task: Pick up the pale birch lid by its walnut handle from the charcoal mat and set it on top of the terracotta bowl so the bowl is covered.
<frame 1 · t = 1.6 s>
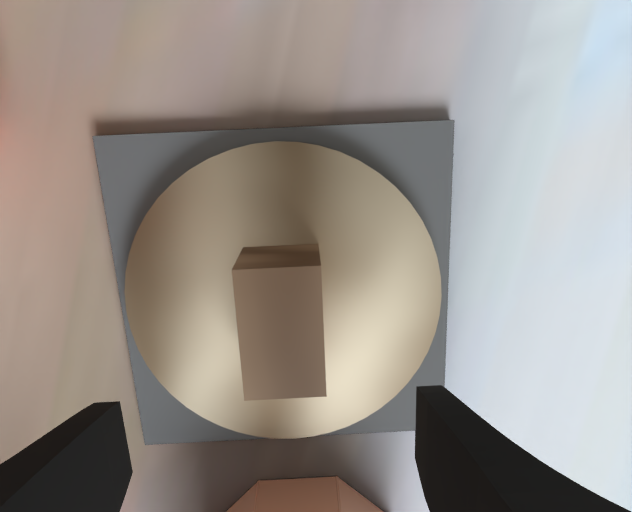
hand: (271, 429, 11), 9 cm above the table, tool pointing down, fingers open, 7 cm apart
mat: (285, 293, 20), on the table
lid: (285, 297, 20), resting on mat
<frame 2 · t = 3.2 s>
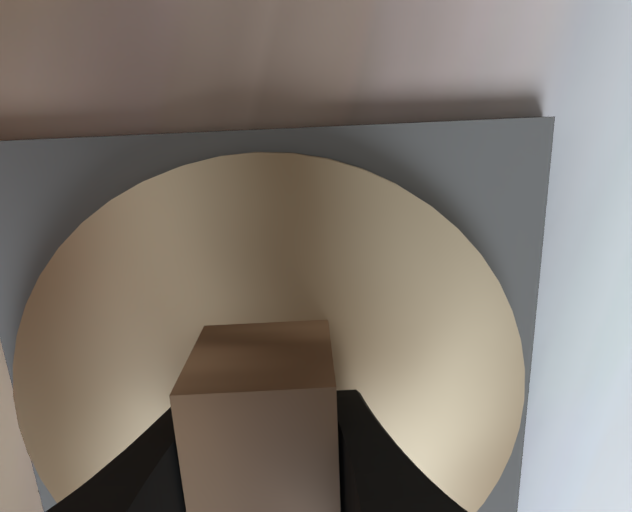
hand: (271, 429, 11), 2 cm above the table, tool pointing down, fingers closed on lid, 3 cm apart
mat: (276, 384, 13), on the table
lid: (275, 394, 13), resting on mat, touching gripper
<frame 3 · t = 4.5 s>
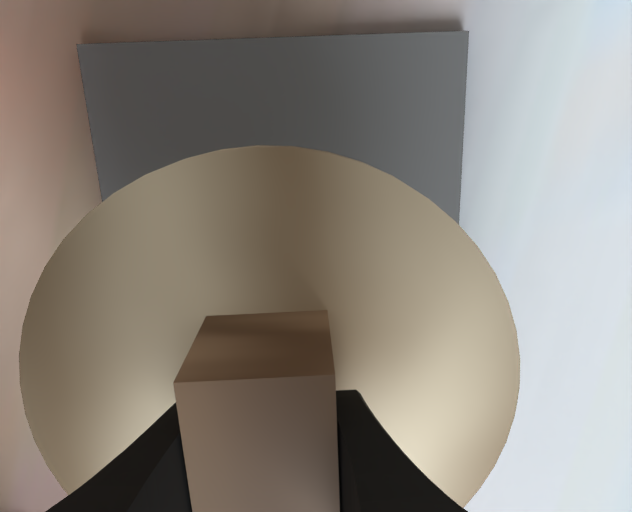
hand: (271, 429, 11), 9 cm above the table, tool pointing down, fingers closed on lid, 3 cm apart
mat: (284, 226, 19), on the table
lid: (275, 383, 13), point 7 cm above the table, touching gripper
when the fingers open (7 cm above the table, at t = 5.8 s): lid stays where it is, resting on bowl.
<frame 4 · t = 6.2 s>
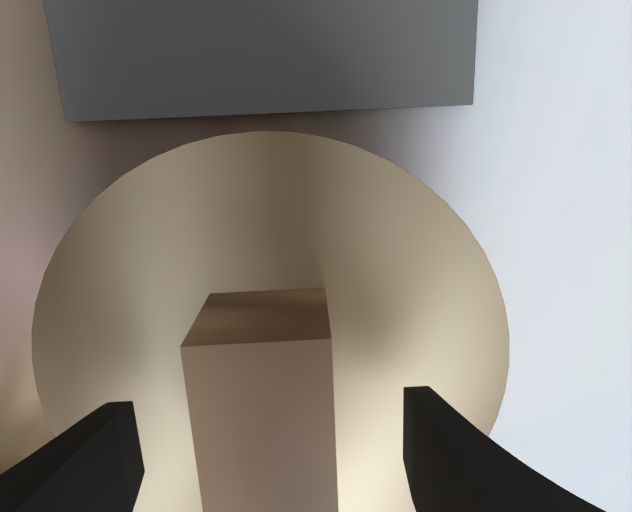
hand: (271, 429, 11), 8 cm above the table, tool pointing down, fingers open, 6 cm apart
lid: (276, 361, 13), point 5 cm above the table, touching bowl
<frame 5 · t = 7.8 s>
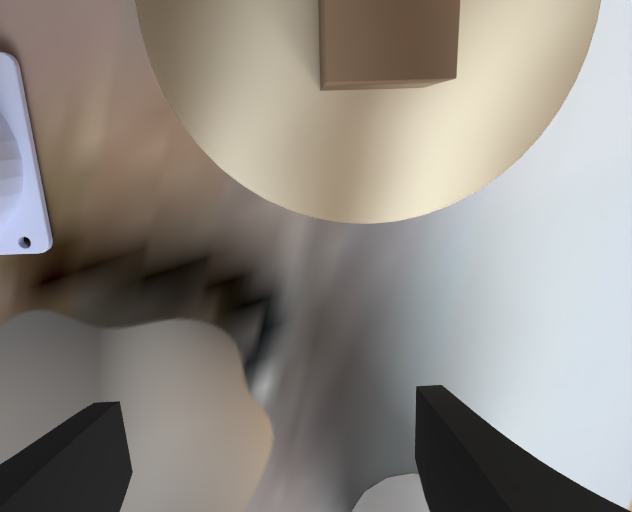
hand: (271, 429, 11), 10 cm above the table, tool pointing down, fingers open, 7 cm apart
lid: (368, 0, 14), point 5 cm above the table, touching bowl
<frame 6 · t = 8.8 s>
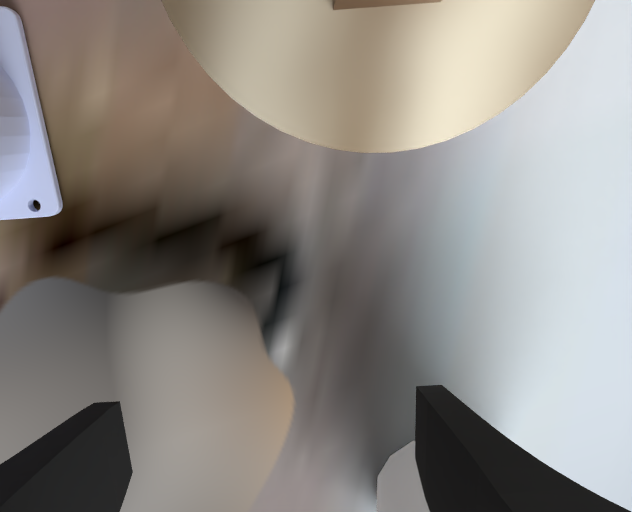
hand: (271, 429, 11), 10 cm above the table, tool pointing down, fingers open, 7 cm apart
foam cup: (433, 483, 25), on the table
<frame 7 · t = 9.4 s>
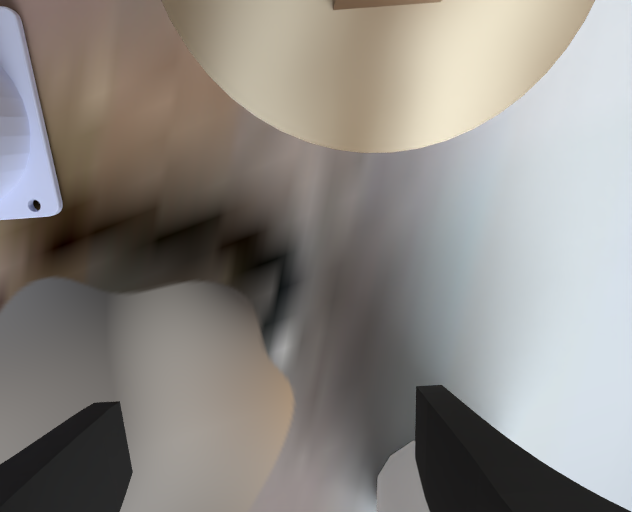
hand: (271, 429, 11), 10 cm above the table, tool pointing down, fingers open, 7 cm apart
foam cup: (433, 483, 25), on the table
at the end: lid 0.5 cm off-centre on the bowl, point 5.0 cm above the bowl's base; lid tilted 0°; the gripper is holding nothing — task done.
